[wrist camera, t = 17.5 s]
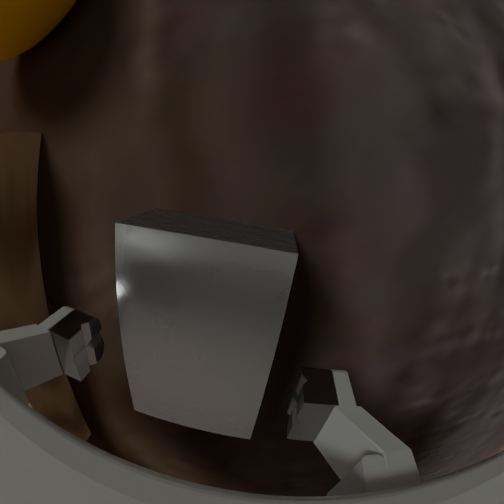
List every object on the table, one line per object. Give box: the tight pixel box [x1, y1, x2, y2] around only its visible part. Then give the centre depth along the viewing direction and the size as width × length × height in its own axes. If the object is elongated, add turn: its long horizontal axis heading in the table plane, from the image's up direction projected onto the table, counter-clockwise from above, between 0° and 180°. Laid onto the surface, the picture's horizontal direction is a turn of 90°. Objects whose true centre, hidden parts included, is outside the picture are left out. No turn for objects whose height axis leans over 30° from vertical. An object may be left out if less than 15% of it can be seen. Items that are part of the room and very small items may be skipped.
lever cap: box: [115, 208, 298, 439], centre depth 9 cm, size 8×5×3 cm, turn 171°
